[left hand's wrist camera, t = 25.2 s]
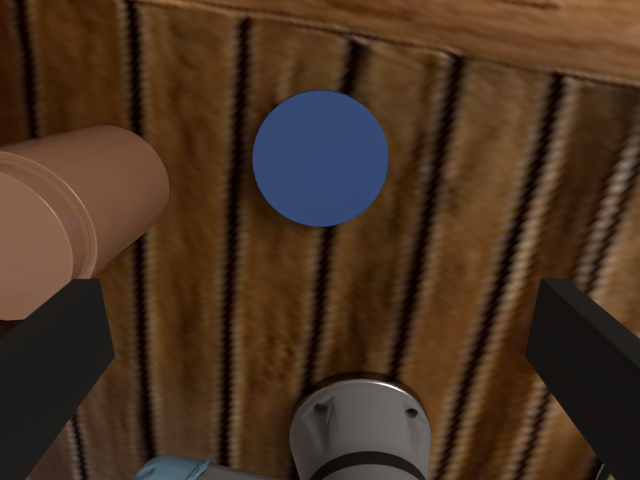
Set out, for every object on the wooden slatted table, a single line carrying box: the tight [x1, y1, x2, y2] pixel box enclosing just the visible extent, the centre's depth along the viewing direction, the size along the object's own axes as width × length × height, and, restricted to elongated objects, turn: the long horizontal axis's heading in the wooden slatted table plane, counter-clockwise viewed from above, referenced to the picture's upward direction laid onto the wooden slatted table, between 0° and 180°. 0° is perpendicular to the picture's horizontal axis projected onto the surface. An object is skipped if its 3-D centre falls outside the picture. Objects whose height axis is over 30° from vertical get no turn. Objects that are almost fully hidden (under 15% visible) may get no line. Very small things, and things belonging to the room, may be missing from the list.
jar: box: [0, 125, 170, 320], centre depth 31 cm, size 10×10×15 cm
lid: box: [252, 89, 388, 227], centre depth 36 cm, size 11×11×2 cm
